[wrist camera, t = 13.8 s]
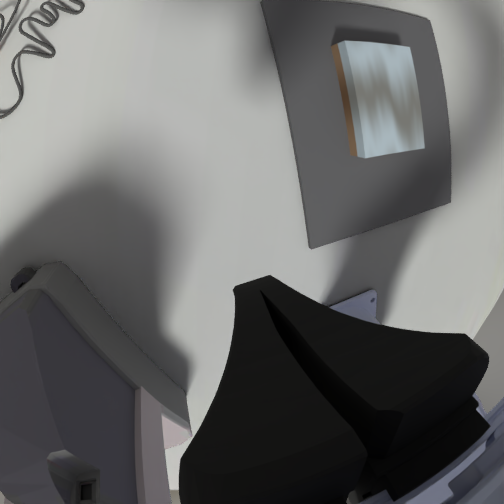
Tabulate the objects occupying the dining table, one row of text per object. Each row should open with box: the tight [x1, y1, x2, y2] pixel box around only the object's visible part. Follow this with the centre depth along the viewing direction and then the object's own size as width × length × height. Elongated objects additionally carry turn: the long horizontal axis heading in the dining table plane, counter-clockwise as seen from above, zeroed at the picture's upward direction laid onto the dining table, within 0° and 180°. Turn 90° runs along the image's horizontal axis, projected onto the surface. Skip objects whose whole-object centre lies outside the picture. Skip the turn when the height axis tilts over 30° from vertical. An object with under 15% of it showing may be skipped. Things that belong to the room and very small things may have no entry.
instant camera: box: [0, 261, 192, 504], centre depth 14 cm, size 21×21×15 cm
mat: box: [261, 0, 451, 249], centre depth 18 cm, size 18×16×1 cm
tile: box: [331, 41, 425, 158], centre depth 17 cm, size 8×2×6 cm
